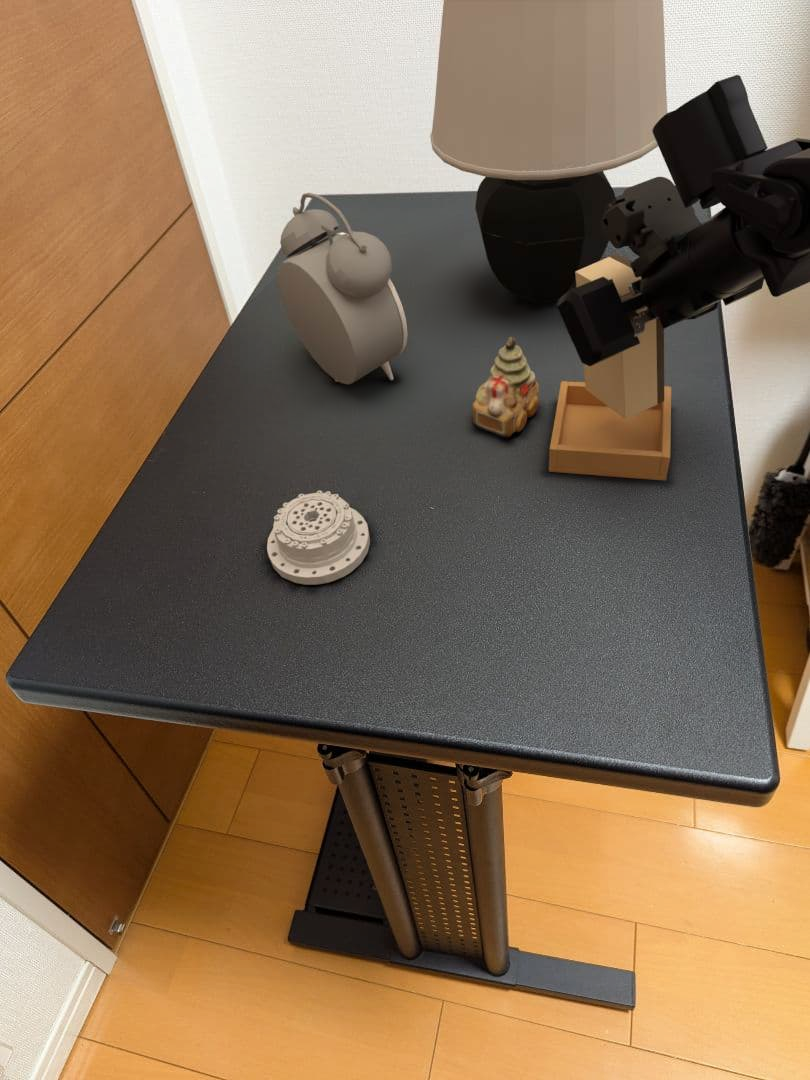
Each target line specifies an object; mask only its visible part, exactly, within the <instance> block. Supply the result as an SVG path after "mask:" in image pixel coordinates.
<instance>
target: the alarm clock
mask: <svg viewBox="0 0 810 1080" xmlns="http://www.w3.org/2000/svg"><path fill="white" fill-rule="evenodd" d="M307 198H309V199H313V200H316V201H319V202H320V203H322V204H324V205H325V206H326V207H327V208H329V209H331V210H332V211H333V212H334V213H335V215H337V216H338V218H339V220H340V221H341V223H342V224H343V226H344V228H345V230H346V232H343V231H342V232H341V231H340V232H337V233H335V232H336V231H337V229H339V227H340V224H339V222H338V220H337V219H336V218H335V217H334V215H333V214H332V213H331V212H329V211H326V210H324V209H317V208H316V209H314V208H313V209H308V210H305V206H306V205H305V204H306V203H305V202H306V200H307ZM292 214H293V217H292V218H291V219H290V220H289V221H288V222H287V223H286V225H285V226H284V227H283V230H282V233H281V235H280V241H279V243H280V247H281V251H282V253H283V254H284V256H285V258H287V259H285V260H284V261H283V262H281V264H280V265H279V267H278V273H277V281H278V289H279V292H280V296H281V300H282V303H283V306H284V308H285V311H286V313H287V315H288V319H289V320H290V322H291V324H292V326H293V328H294V330H295V333H296V334H297V336H298V338H299V339H300V341H301V342H302V344H303V346H304V348H305V349H306V351H308V353H309V354H310V356H311V358H313V360H314V361H315V362H316V363H317V364H318V365H319V367H320V368H321V369H322V370H323V371H324V372H325V373H326V374H327V375H329V376H330V377H331V378H333V380H334V381H335V382H337V383H338V382H339V383H340V384H344V385H351V384H354V383H355V382H357V381H359V380H361V379H362V378H363V377H365V376H366V375H369V373H372V372H373V371H375V370H376V369H379V367H380V368H381V369H382V370H383V372H384V373H385V374H386V376H387V377H388V379H389V380H390V381H393V380H394V379H395V378H394V375H393V372H392V368H391V364H390V362H389V361H391V360H393V359H394V358H395V357H397V356H399V355H400V354H402V353H403V352H404V350H405V348H406V346H407V342H408V334H409V333H408V326H407V319H406V315H405V314H406V313H405V311H404V307H403V305H402V302H401V299H400V297H399V294H398V292H397V289H396V287H395V285H394V283H393V281H392V280H391V275H392V272H393V268H392V264H393V263H392V257H391V254H390V251H389V250H388V248H387V246H386V244H385V243H383V242H382V240H380V239H379V238H378V237H377V236H375V235H373V234H370V233H369V232H366V231H353V229H351V226H350V224H349V222H348V220H347V218H346V217H345V216H344V214H343V212H342V211H341V210H340V209H339V208H338V207H337V206H336V205H334V204H333V203H332V202H331V201H330V200H328V199H326V198H325V197H323V196H321V195H318V194H316V193H313V192H305V193H303V194H302V195H301V199H300V206H299V208H298V207H296V206H294V207H292Z"/></svg>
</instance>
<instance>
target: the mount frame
mask: <svg viewBox="0 0 810 1080" xmlns="http://www.w3.org/2000/svg"><path fill="white" fill-rule="evenodd" d="M557 398H558V399H557V404H556V409H555V417H554V420H553V426H552V427H553V428H552V432H551V438H550V445H549V456H548V458H549V459H548V472H549V473H562V474H563V473H564V474H576V475H586V476H587V475H588V476H601V477H612V478H613V477H614V478H625V479H627V478H629V479H640V480H654V481H664V482H665V481H667V478H668V477H667V476H668V471H669V467H670V461H671V440H672V439H671V437H672V436H671V435H672V433H671V432H672V431H671V430H672V428H671V427H672V386H667V385H664V402H661V403H659V404H657V405H655V406H653V407H651V408H649V409H647V410H645V411H642V412H640V413H638V414H636V415H634V416H632V417H630V418H628V419H624V418H623V417H622V416H620V415H619V414H618V413H616V412H615V411H614V410H612V409H611V408H610V407H608V406H607V405H606V404H604V403H603V402H602V401H601V400H599V399H598V398H597V397H595V396H594V395H593V394H591V393H590V392H589V391H587V390H586V387H585V381H565V380H562V381H560V386H559V392H558V397H557Z"/></svg>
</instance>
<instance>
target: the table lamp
mask: <svg viewBox="0 0 810 1080" xmlns="http://www.w3.org/2000/svg"><path fill="white" fill-rule="evenodd" d="M664 12H665V11H664V0H443V4H442V13H441V14H442V15H441V25H440V26H441V27H440V35H439V36H440V38H439V48H438V57H437V58H438V60H437V71H436V72H437V73H436V85H435V96H434V97H435V98H434V109H433V117H432V118H433V119H432V127H431V133H430V135H429V137H430V144H431V149H432V151H433V152H434V153H435V155H436V156H437V157H438V158H439V159H440V160H441V161H442V162H443V163H445V164H447V165H449V166H450V167H453V168H455V169H456V170H457V169H458V170H460V171H461V172H465V173H470V174H474V175H476V176H477V175H478V176H481V177H484V178H483V179H482V180H481V181H480V183H479V185H478V188H477V191H476V198H475V207H474V208H475V212H476V217H477V222H478V224H479V225H478V226H479V229H480V230H479V231H480V233H481V238H482V243H483V247H484V251H485V256H486V258H487V261H488V265H489V267H490V270H491V271H492V273H493V275H494V277H495V278H496V280H497V282H499V284H500V285H501V286H502V287H503V288H504V289H506V290H507V291H508V292H510V293H511V294H512V295H514V296H516V297H518V298H519V299H522V300H524V301H525V300H526V301H528V302H531V303H534V304H544V303H551V302H553V303H554V302H558V301H559V299H560V298H561V297H562V296H563V295H565V294H566V293H567V292H568V291H570V290H571V289H574V288H576V287H577V286H576V275H575V272H576V271H578V270H580V269H582V268H585V267H587V266H589V265H591V264H594V263H596V262H598V261H601V260H602V259H603V256H604V254H605V252H606V250H607V248H608V245H609V243H610V241H609V240H608V238H607V237H606V236H605V234H604V233H603V232H602V230H601V225H600V224H601V220H602V218H603V216H604V214H605V212H604V208H605V206H606V205H609V204H611V203H612V202H613V201H614V199H615V197H616V193H615V191H614V189H613V187H612V185H611V183H610V182H609V179H608V178H607V176H606V174H605V171H608V170H613V169H617V168H619V167H621V166H624V165H627V164H630V163H632V162H634V161H637V160H639V159H641V158H643V157H644V156H646V155H648V154H649V153H651V152H652V151H653V150H655V149H657V148H659V146H658V144H657V142H656V139H655V137H654V135H653V132H652V130H653V128H654V126H655V125H656V123H657V122H658V121H659V120H660V119H661V118H662V117H663V116H664V115H665V114H667V113H669V112H668V97H667V95H668V94H667V77H666V76H667V75H666V73H667V72H666V42H665V41H666V40H665V39H666V38H665V19H664V18H665V17H664V15H665V13H664Z"/></svg>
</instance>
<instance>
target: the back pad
mask: <svg viewBox="0 0 810 1080" xmlns="http://www.w3.org/2000/svg"><path fill="white" fill-rule="evenodd" d="M632 262H633V261H632V260H631V259H629V258H627V257H625V256H622V255H620V254H618V253H613V254H612V255H610V256H608V257H606V258H602V259H600V261H598V262H596V263H594V264H591V265H589V266H587V267H585V268H582V269H580V270H578V271H576V272H575V275H576V287H579V286H581V285H584V284H586V283H589V282H591V281H593V280H596V279H598V278H601V277H605V278H606V279H608V280H610V279H612V280H613V282H614V284H615V286H616V289H617V291H618V293H619V294H621V296H622V298H623V297H624V298H625V297H627V296H630V299H631V298H634V297H636V296H638V295H641V292H640V293H639V294H636V295H634V296H633V295H632V294H631V292H630V290H629V285H630V284H631V283H633V282H635V281H638V280H640V279H641V276H640V277H635V275H634V272H633V270H632V268H631V266H630V263H632ZM647 309H648V308H647V307H645V308H643V309H641V310H638V311H636V312H637V314H638V313H641V312H642V311H645V310H647ZM637 337H638V339H639V341H640V344H638V345H636V346H633V347H631V348H629V349H627V350H625V351H623V352H621V353H619V354H617V355H615V356H613V357H610V358H608V359H606V360H604V361H601V362H599V363H597V364H595V365H592V366H588V365H586V364H583V363H582V365H583V375H584V382H585V387H586V390H587V391H589V392H590V393H591V394H593V395H594V396H595V397H597V398H598V399H599V400H601V401H602V402H603V403H604V404H606V405H607V406H608V407H610V408H611V409H612V410H614V411H615V412H616V413H618V414H619V415H620V416H622V417H623V418H624V419H628V418H630V417H632V416H634V415H636V414H638V413H640V412H642V411H645V410H647V409H649V408H651V407H653V406H655V405H657V404H659V403H661V402H664V386H665V329H663V327H662V324H661V322H660V320H659V318H657V319H655V320H652V321H650V322H648V323H646V324H645V331H644V332H643V333H642V334H640V335H639V336H637Z"/></svg>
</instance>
